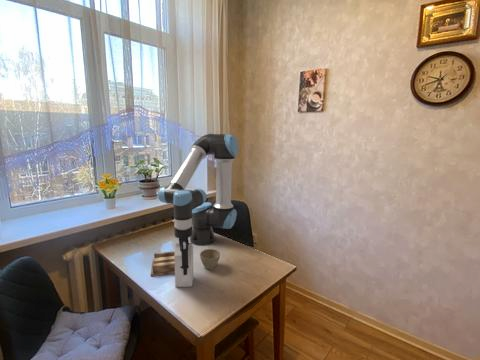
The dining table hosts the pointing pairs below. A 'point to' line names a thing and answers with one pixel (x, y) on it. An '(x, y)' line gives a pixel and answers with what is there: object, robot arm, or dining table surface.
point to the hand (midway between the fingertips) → (184, 271)
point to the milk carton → (179, 263)
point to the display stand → (163, 264)
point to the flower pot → (210, 258)
